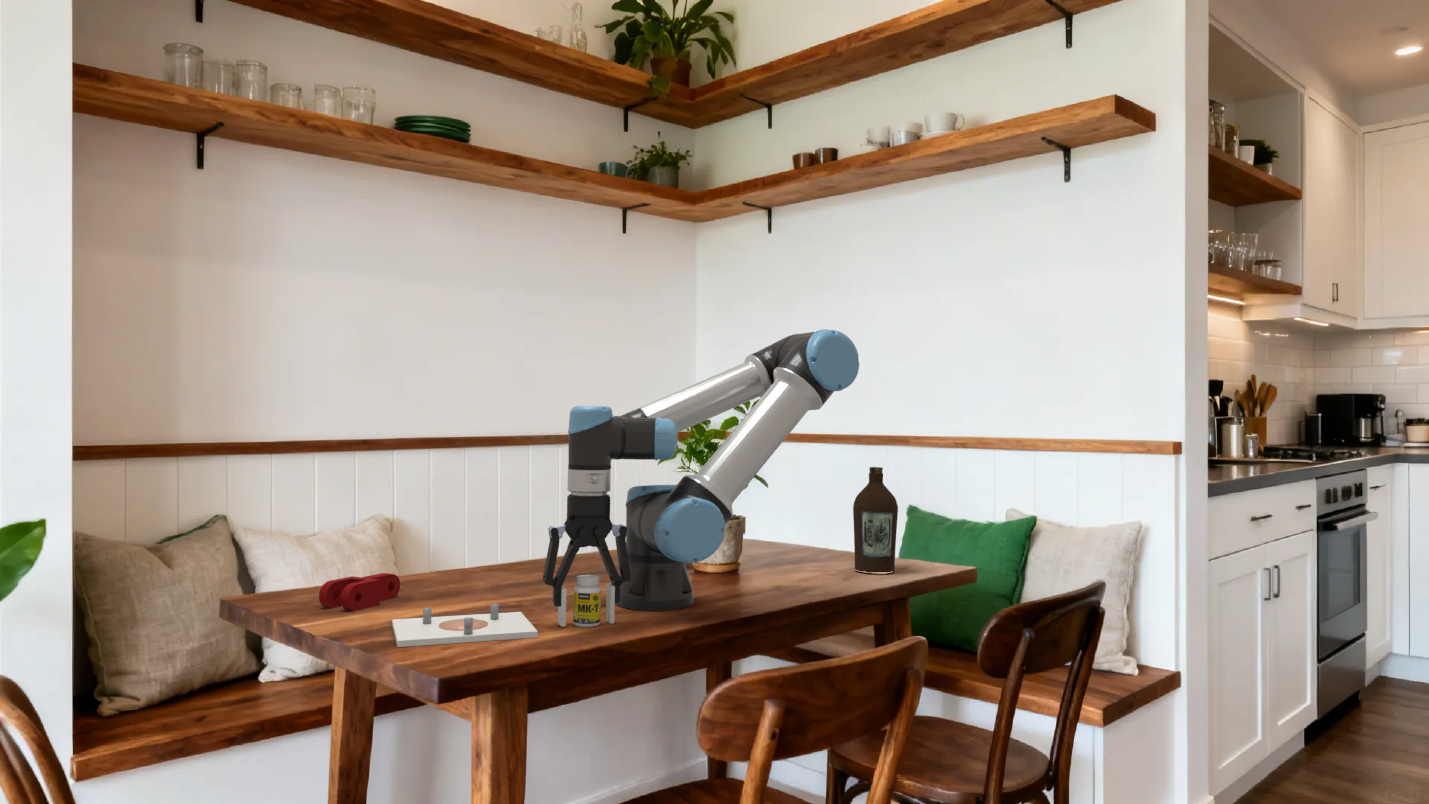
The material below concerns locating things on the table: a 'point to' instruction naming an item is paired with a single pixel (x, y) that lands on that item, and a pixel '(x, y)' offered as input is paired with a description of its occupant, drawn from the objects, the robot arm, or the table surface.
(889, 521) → the olive oil
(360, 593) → the mechanical linkage
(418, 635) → the pin plate
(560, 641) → the table surface
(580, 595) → the supplement bottle
